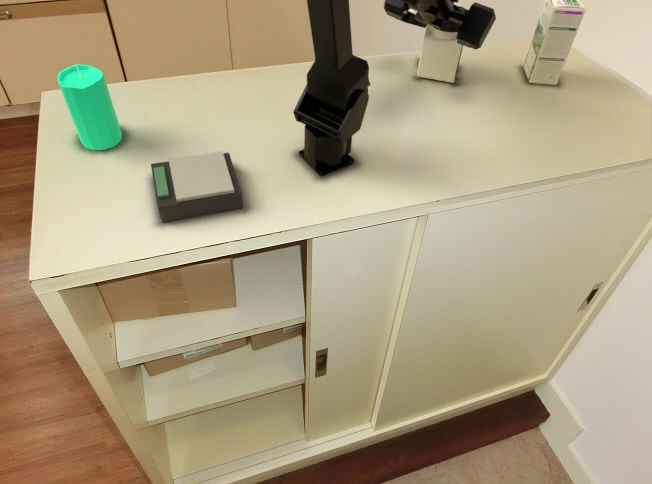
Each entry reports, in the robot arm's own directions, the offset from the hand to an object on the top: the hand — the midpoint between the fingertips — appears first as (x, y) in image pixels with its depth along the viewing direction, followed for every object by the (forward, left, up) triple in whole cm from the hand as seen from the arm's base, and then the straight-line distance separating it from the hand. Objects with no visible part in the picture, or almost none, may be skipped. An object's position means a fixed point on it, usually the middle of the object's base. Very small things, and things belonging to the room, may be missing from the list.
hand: (447, 33), depth 96 cm
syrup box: (+16, -12, -7) cm, 21 cm away
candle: (-61, +10, -7) cm, 63 cm away
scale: (-54, -9, -7) cm, 56 cm away
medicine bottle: (-1, -1, -7) cm, 7 cm away
